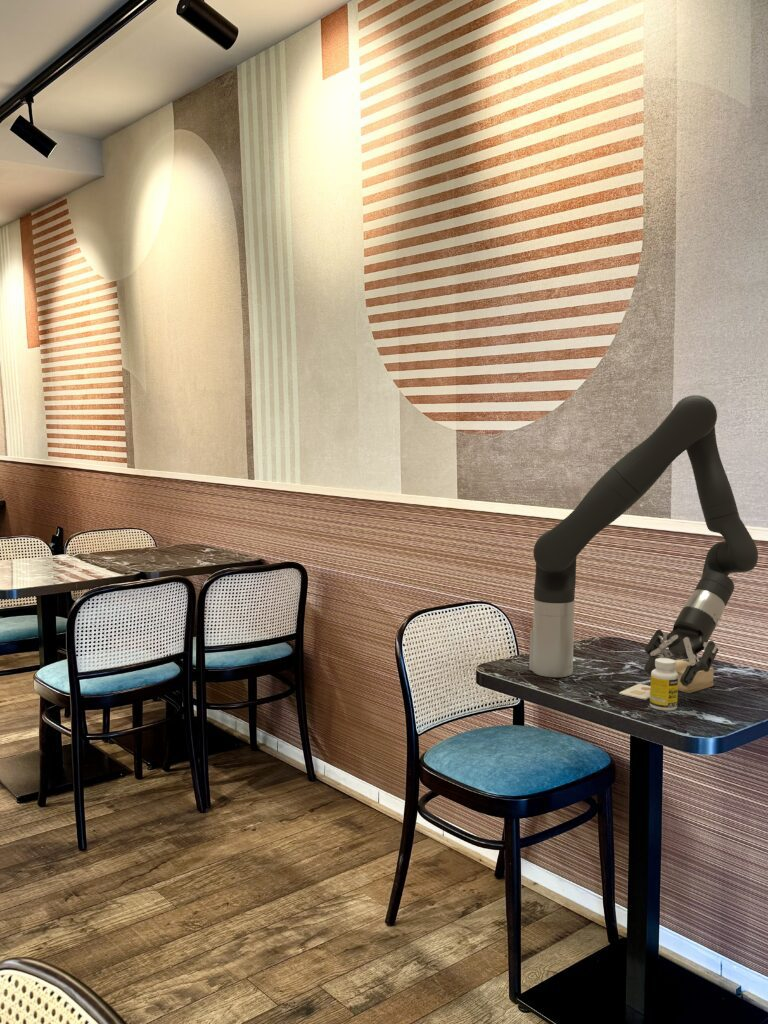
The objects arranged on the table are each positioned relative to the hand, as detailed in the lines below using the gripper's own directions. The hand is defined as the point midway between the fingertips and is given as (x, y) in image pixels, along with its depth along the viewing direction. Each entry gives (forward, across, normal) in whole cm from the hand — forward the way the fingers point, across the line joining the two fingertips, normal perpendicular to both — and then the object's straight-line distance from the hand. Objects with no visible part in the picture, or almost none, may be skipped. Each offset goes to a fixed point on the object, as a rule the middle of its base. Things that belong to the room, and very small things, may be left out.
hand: (665, 679), depth 183 cm
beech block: (-8, -7, +16) cm, 19 cm away
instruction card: (+1, -9, +8) cm, 12 cm away
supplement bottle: (+4, 0, +4) cm, 6 cm away
